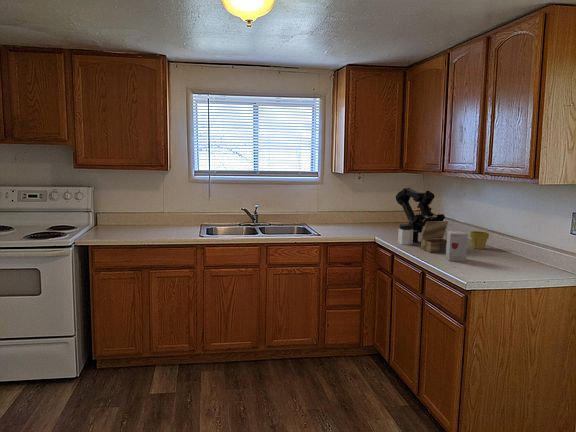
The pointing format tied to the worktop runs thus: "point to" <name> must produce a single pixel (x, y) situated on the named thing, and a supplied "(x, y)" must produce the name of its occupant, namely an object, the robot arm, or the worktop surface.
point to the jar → (405, 234)
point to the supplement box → (456, 246)
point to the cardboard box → (434, 245)
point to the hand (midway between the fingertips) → (433, 229)
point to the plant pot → (479, 239)
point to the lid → (434, 230)
